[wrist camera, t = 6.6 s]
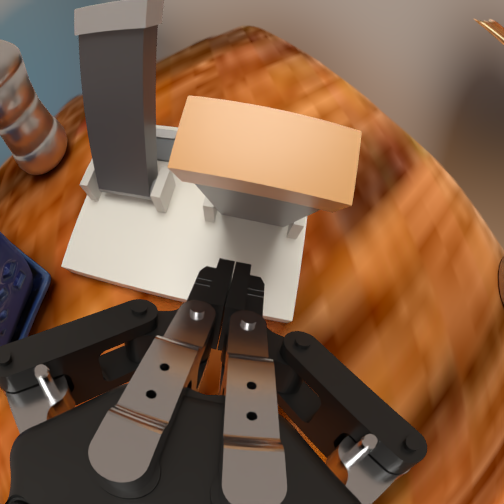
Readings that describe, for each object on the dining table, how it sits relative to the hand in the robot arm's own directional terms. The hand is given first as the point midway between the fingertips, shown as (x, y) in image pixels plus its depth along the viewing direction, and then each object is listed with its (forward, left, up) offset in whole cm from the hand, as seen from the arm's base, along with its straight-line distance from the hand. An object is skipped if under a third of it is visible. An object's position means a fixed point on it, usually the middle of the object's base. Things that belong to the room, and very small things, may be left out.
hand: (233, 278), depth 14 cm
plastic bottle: (+5, -27, -11) cm, 29 cm away
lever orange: (-6, -4, -8) cm, 11 cm away
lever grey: (0, -13, -8) cm, 15 cm away
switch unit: (-3, -9, -11) cm, 14 cm away
